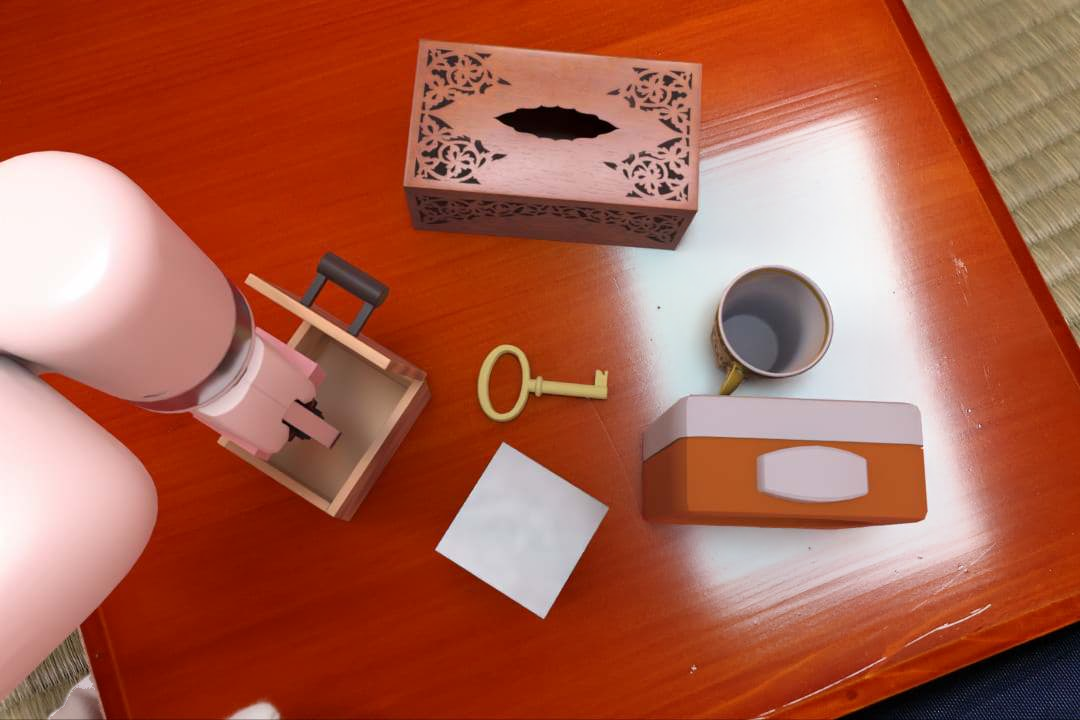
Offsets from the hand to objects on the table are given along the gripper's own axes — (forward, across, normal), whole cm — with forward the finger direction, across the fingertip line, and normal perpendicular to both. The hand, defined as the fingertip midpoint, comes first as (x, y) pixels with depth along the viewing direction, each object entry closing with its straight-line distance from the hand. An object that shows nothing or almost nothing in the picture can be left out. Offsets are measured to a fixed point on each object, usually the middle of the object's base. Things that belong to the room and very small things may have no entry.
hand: (266, 398), depth 58 cm
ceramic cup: (+22, +28, +27) cm, 45 cm away
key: (+22, +14, +14) cm, 30 cm away
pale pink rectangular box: (0, 0, 0) cm, 0 cm away
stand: (+22, +19, +2) cm, 29 cm away
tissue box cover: (+22, +3, +34) cm, 41 cm away
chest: (+22, 0, +2) cm, 22 cm away
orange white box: (+22, +34, +17) cm, 44 cm away
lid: (+6, 0, +7) cm, 9 cm away
